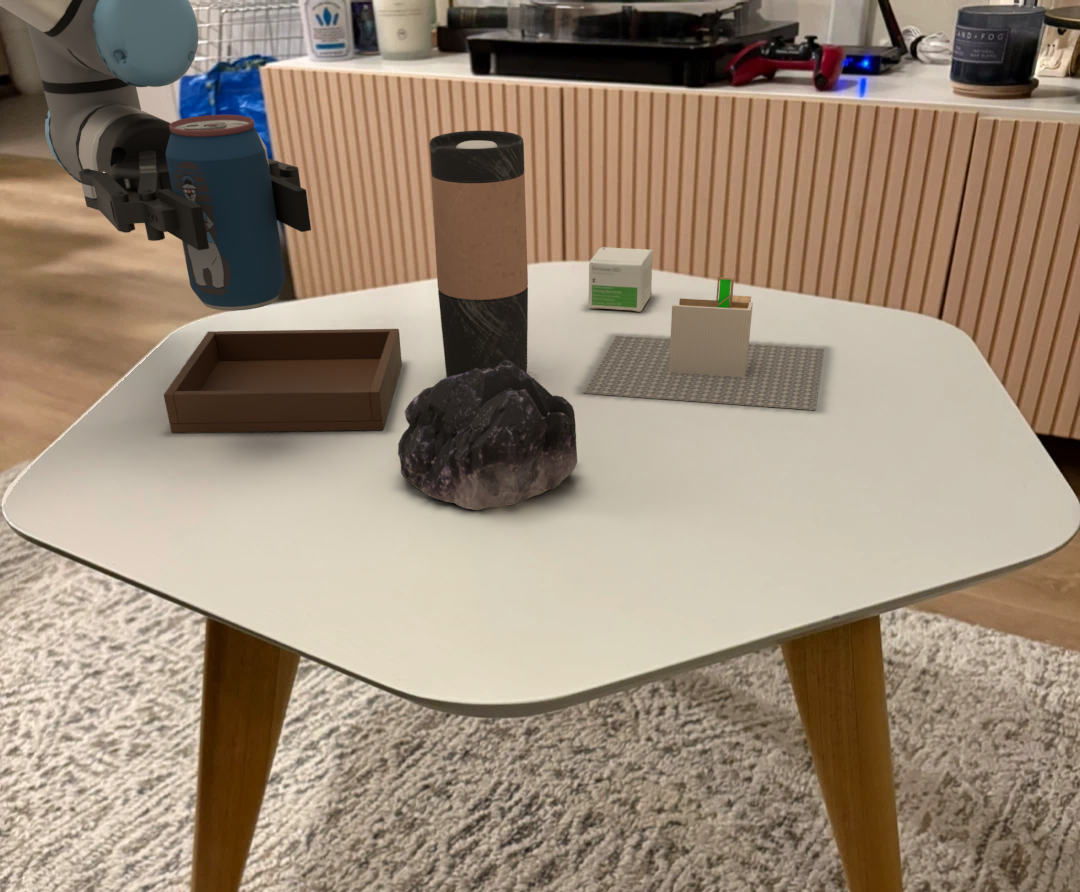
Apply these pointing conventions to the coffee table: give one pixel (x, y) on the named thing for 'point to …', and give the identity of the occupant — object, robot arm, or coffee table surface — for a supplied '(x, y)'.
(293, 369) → the tray
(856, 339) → the coffee table surface
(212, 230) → the soda can
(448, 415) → the crystal cluster
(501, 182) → the travel mug
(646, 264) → the small box
